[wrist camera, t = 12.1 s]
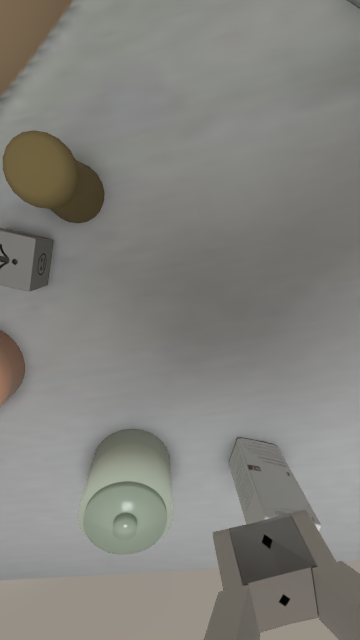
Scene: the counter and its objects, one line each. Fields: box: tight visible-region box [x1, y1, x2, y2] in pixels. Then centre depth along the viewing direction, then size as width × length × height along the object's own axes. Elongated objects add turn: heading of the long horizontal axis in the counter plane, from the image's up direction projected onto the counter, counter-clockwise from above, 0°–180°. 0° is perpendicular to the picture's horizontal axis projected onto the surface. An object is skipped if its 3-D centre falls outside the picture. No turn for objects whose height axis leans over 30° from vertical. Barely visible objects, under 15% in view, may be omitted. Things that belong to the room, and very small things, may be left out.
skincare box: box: [229, 438, 321, 531], centre depth 35 cm, size 6×4×12 cm
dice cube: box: [0, 228, 54, 291], centre depth 30 cm, size 5×5×5 cm
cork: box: [3, 131, 104, 223], centre depth 26 cm, size 6×6×11 cm
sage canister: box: [78, 429, 173, 554], centre depth 35 cm, size 10×10×10 cm
